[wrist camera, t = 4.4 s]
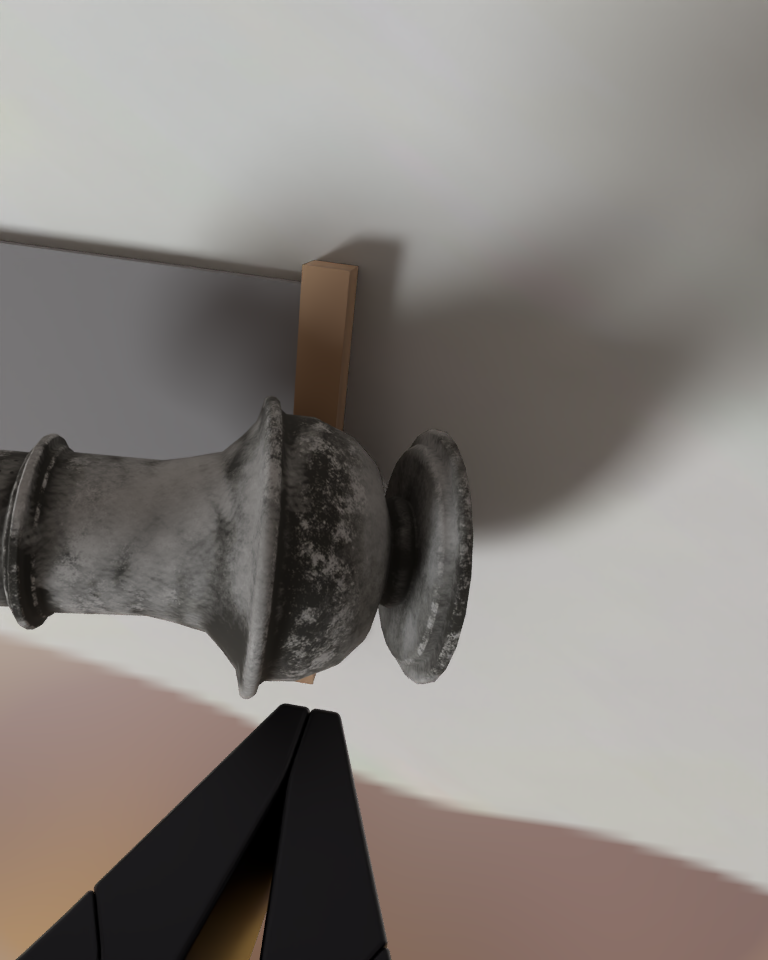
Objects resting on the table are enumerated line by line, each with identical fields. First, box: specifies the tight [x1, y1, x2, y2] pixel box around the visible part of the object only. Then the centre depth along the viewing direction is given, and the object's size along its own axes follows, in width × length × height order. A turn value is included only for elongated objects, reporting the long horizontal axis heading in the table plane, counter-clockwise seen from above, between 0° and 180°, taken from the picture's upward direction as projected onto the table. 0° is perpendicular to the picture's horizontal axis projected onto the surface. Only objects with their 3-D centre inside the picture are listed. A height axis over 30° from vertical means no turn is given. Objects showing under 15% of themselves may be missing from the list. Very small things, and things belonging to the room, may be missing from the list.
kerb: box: [293, 260, 358, 684], centre depth 16 cm, size 1×11×1 cm, turn 173°
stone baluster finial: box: [0, 396, 473, 699], centre depth 12 cm, size 6×6×12 cm
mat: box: [0, 241, 301, 460], centre depth 16 cm, size 11×9×1 cm
